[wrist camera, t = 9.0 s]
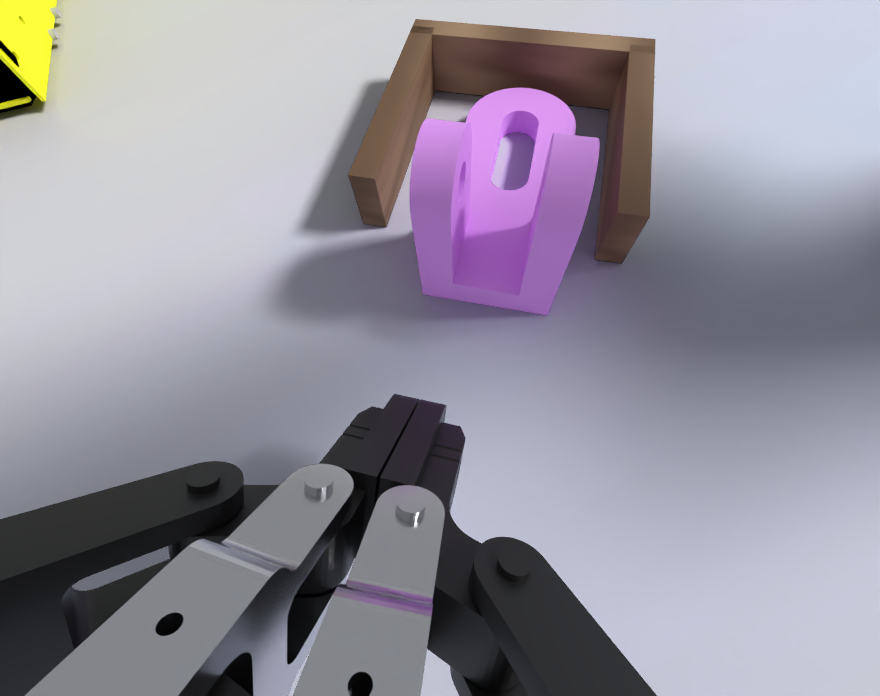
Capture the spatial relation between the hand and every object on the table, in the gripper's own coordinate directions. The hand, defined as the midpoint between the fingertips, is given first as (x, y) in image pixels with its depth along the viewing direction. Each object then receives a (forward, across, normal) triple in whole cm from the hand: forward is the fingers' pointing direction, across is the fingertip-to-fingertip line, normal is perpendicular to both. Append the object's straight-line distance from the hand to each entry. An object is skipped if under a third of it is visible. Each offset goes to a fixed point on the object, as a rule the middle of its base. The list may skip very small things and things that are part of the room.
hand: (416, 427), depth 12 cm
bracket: (+13, -1, -6) cm, 14 cm away
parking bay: (+14, 0, -8) cm, 17 cm away
